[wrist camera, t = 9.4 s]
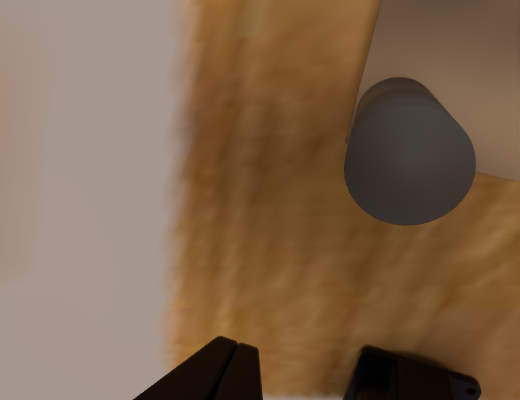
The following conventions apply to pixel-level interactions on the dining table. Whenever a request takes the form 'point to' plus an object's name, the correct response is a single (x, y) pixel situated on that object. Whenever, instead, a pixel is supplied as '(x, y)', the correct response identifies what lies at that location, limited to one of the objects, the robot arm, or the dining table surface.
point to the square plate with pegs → (435, 107)
